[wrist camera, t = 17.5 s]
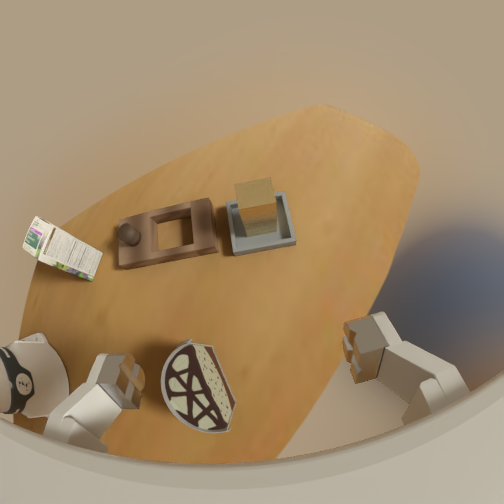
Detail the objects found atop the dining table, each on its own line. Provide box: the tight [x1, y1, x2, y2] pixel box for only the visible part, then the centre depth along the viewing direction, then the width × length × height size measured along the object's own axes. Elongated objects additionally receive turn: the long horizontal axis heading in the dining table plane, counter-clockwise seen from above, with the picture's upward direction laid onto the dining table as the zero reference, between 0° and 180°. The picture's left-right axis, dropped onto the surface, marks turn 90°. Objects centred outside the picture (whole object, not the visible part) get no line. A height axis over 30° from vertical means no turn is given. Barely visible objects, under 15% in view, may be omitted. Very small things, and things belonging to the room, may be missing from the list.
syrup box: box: [23, 216, 103, 281], centre depth 36 cm, size 6×6×14 cm
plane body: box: [117, 198, 219, 270], centre depth 40 cm, size 16×8×6 cm, turn 100°
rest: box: [226, 191, 296, 256], centre depth 41 cm, size 9×8×2 cm
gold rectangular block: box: [234, 178, 277, 237], centre depth 37 cm, size 4×4×10 cm
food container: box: [161, 338, 237, 433], centre depth 32 cm, size 12×6×10 cm, turn 22°
